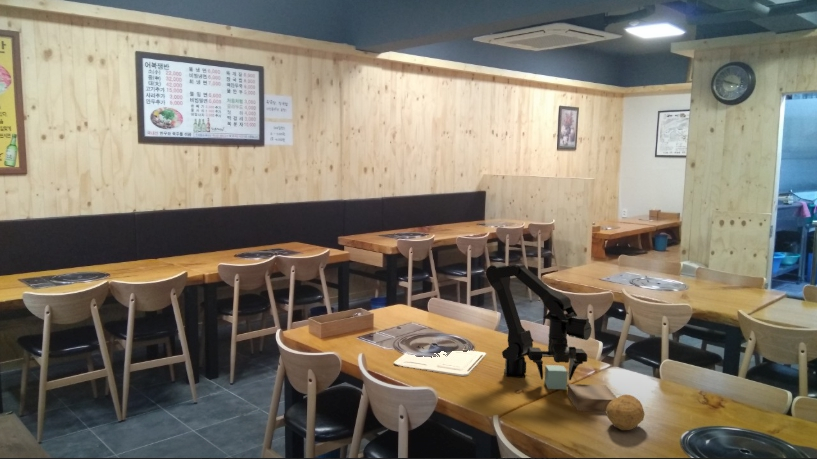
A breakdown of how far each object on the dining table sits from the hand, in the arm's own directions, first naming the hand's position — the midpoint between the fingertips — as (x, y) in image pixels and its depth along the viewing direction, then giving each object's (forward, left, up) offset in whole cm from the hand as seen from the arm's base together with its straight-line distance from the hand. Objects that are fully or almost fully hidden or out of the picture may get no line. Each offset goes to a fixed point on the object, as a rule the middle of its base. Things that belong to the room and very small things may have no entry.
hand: (555, 379), depth 197 cm
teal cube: (0, 0, -2) cm, 2 cm away
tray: (-37, +24, -3) cm, 44 cm away
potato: (+12, -31, -2) cm, 33 cm away
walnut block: (+8, -14, -2) cm, 16 cm away
